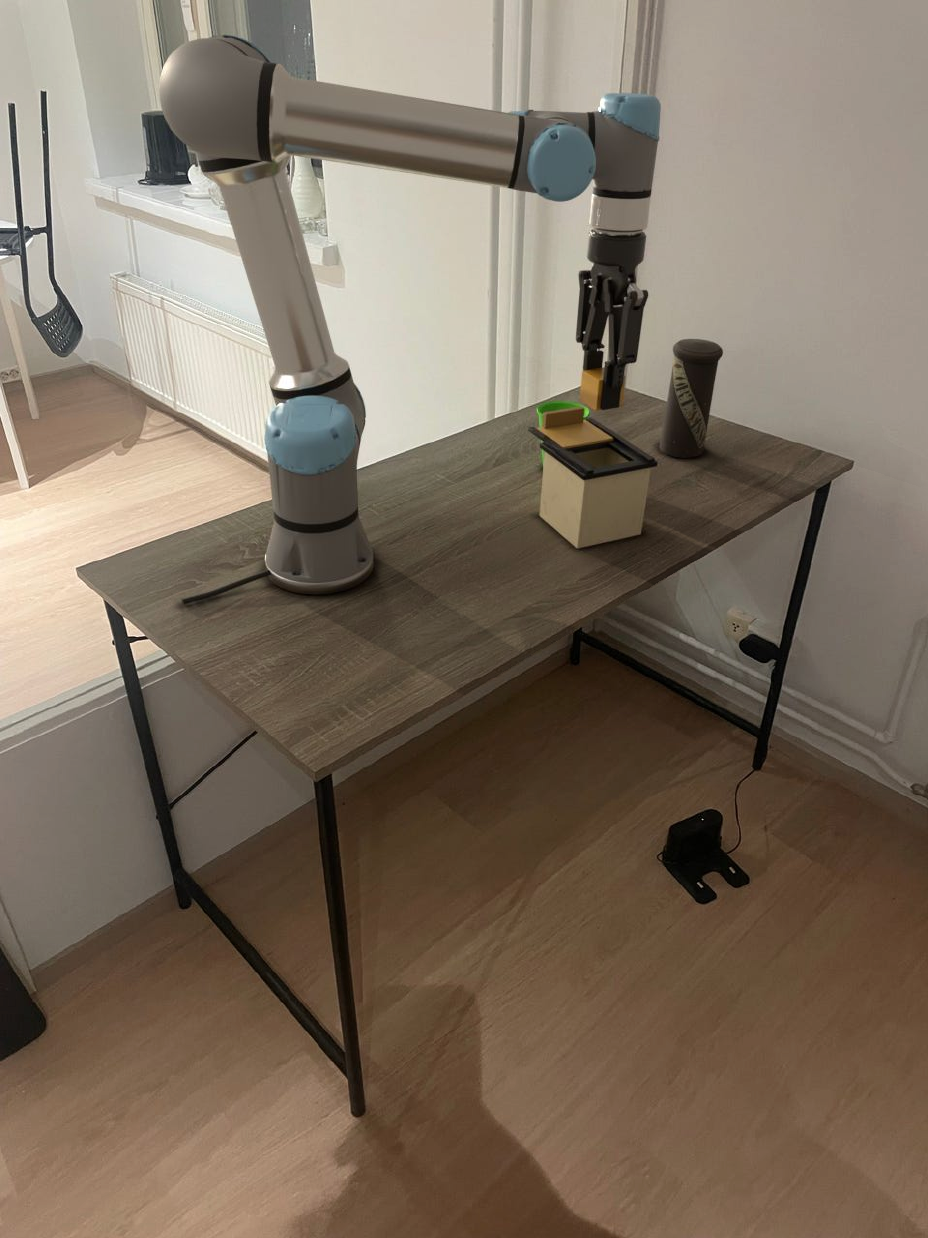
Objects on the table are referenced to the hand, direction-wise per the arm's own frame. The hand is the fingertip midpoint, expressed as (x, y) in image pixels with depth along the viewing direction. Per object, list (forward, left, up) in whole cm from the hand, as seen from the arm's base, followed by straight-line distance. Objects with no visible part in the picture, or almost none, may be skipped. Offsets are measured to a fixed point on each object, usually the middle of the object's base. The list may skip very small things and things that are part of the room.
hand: (599, 401), depth 132 cm
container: (+33, +19, -21) cm, 43 cm away
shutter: (+1, +7, -8) cm, 11 cm away
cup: (+7, +20, -21) cm, 30 cm away
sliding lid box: (+1, +3, -20) cm, 21 cm away
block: (0, 0, 0) cm, 0 cm away
